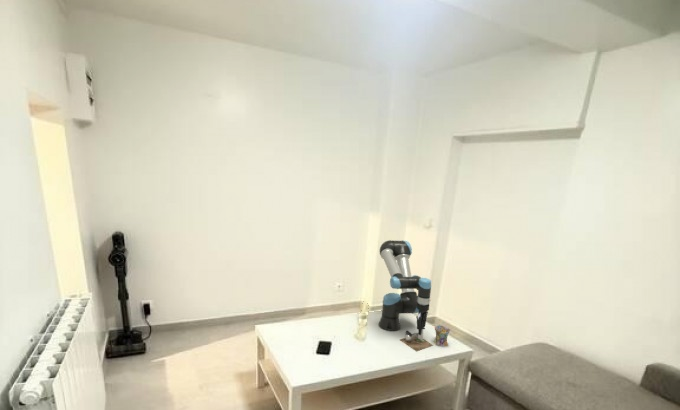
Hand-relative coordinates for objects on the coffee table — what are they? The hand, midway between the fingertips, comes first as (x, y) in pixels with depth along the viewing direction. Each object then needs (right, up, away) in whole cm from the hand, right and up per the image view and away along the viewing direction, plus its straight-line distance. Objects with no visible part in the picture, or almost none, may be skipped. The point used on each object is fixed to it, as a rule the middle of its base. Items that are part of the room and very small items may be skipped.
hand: (420, 338), depth 202 cm
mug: (+13, -4, +1) cm, 13 cm away
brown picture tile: (-3, -3, -2) cm, 5 cm away
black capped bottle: (-4, -1, +1) cm, 4 cm away
